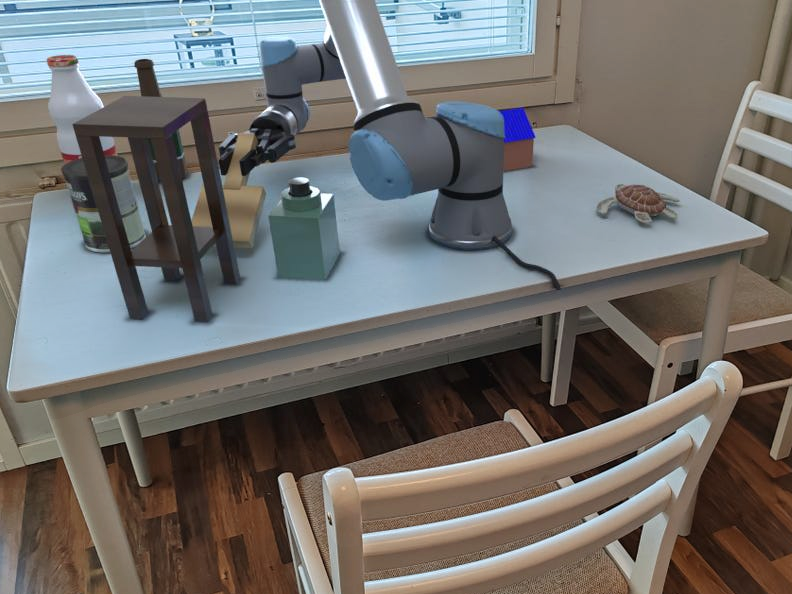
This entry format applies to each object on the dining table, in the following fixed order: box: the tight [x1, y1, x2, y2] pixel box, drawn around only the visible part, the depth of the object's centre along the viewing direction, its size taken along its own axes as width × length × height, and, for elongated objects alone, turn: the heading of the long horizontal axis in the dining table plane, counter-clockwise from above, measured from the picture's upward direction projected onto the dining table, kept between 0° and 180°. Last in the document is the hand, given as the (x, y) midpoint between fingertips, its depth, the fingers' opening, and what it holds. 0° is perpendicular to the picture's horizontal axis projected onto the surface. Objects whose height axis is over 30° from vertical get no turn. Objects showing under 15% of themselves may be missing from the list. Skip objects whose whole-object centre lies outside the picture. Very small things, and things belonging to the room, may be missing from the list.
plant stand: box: [72, 95, 241, 323], centre depth 108 cm, size 14×12×29 cm
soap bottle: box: [267, 185, 341, 281], centre depth 122 cm, size 10×8×13 cm
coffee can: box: [60, 155, 147, 254], centre depth 129 cm, size 10×10×14 cm
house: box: [498, 107, 536, 173], centre depth 165 cm, size 12×20×12 cm, turn 117°
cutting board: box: [191, 132, 267, 249], centre depth 132 cm, size 24×11×2 cm
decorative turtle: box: [595, 183, 681, 224], centre depth 145 cm, size 18×17×5 cm
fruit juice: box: [46, 54, 118, 165], centre depth 138 cm, size 9×9×28 cm
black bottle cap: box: [288, 176, 311, 197], centre depth 118 cm, size 3×3×2 cm
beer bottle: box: [133, 58, 188, 183], centre depth 154 cm, size 8×8×24 cm
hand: (232, 168), depth 130 cm, fingers closed on cutting board, 3 cm apart
